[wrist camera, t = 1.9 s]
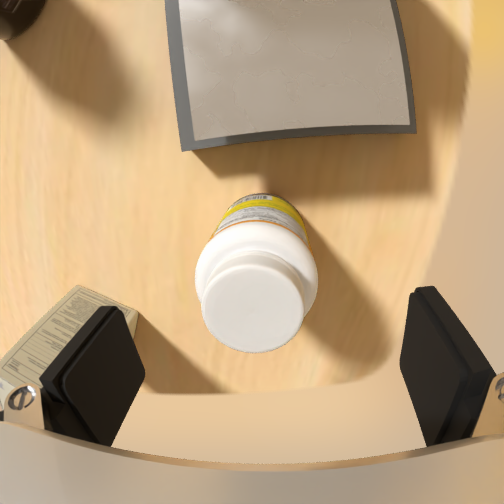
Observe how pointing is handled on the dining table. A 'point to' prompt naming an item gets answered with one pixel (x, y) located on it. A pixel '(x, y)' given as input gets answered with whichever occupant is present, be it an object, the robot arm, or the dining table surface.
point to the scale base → (190, 143)
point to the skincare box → (53, 338)
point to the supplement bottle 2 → (257, 275)
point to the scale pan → (291, 65)
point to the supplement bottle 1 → (17, 16)
